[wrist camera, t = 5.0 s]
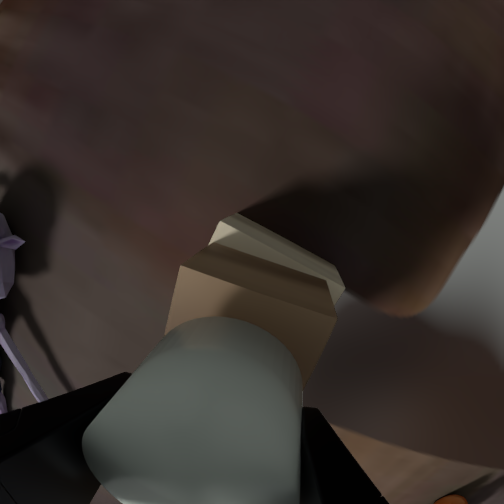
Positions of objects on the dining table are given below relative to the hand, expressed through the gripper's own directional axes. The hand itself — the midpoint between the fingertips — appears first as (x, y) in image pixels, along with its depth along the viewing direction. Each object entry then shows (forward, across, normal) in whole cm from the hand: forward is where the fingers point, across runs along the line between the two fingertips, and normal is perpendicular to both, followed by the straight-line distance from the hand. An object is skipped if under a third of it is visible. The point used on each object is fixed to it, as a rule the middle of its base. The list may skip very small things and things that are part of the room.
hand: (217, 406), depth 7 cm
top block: (+6, 0, 0) cm, 7 cm away
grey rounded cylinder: (+1, 0, 0) cm, 1 cm away
